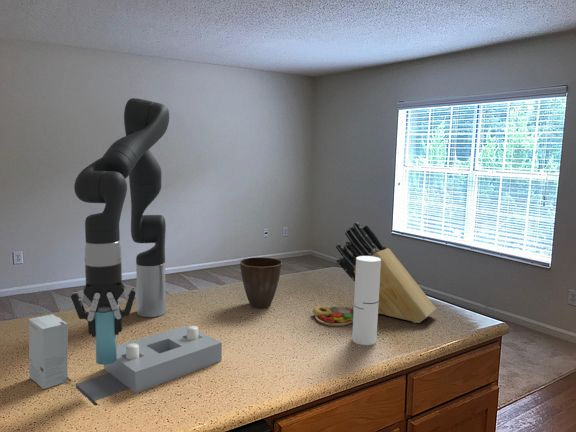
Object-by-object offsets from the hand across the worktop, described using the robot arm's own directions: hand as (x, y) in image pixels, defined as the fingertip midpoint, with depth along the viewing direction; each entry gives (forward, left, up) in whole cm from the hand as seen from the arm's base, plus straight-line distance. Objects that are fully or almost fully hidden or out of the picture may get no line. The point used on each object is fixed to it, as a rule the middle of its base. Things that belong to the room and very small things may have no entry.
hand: (105, 334), depth 107 cm
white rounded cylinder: (0, +6, -12) cm, 13 cm away
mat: (0, 0, -13) cm, 13 cm away
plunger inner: (0, +23, -12) cm, 26 cm away
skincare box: (-13, -8, -13) cm, 20 cm away
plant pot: (-20, +66, -13) cm, 70 cm away
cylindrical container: (+24, +68, -13) cm, 73 cm away
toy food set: (+7, +75, -14) cm, 76 cm away
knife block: (+13, +95, -13) cm, 97 cm away
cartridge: (0, 0, -6) cm, 6 cm away
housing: (0, +15, -13) cm, 20 cm away
